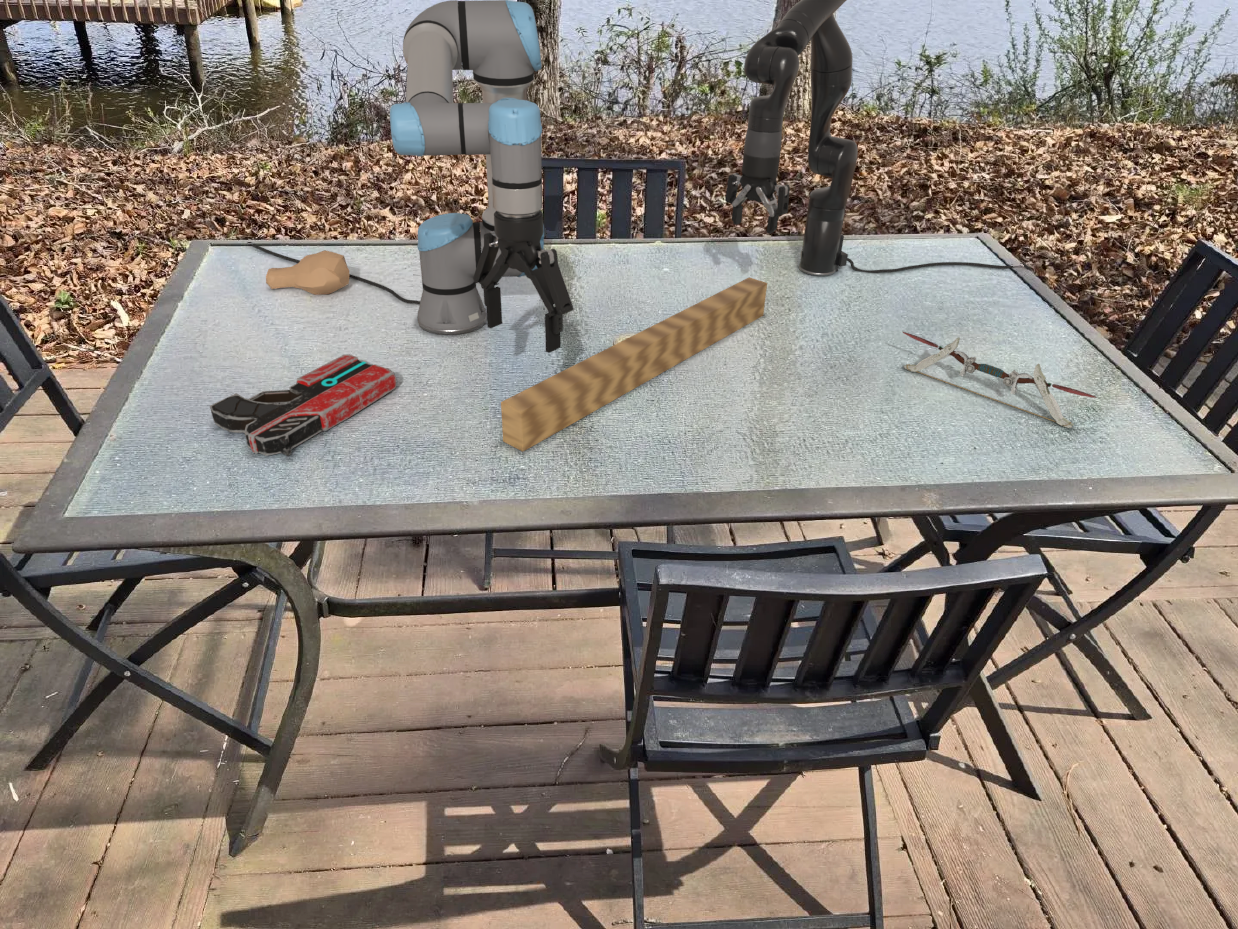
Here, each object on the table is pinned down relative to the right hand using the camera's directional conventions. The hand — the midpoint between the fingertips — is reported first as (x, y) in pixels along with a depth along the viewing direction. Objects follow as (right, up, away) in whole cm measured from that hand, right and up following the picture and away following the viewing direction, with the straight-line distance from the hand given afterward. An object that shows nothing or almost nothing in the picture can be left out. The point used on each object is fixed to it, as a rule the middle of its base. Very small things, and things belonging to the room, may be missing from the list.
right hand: (753, 228), depth 190 cm
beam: (-23, -32, -10) cm, 41 cm away
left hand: (-45, -30, -45) cm, 70 cm away
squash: (-103, -9, +20) cm, 106 cm away
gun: (-87, -41, -27) cm, 100 cm away
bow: (+43, -38, -16) cm, 60 cm away
